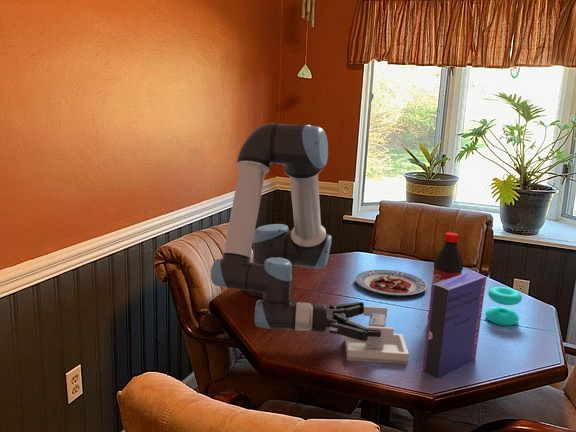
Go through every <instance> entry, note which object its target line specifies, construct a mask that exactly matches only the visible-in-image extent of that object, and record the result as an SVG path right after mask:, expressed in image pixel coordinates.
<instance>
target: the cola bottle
mask: <svg viewBox="0 0 576 432" xmlns="http://www.w3.org/2000/svg"><path fill="white" fill-rule="evenodd" d="M459 239H460V237H459V234H458V233H456V232H445V234H444V238H443V241H444V244H443V247H442V248H441V249H440V251H439V252H438V253H437V255H436V257H435V259H434V260H433V271H432V272H433V273H432V281H431V287H430V289H431V288H432V284H434V283H437V282H440V281H443V280H446V279H449V278H452V277H455V276H458V275H461V274H463V269H464V264H463V260H462V259H463V258H462V257H461V253H460V252H459V249H458V243H459ZM427 314H428V315H429V312H428V313H427ZM428 315H427V316H428Z"/></svg>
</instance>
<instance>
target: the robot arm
mask: <svg viewBox="0 0 576 432" xmlns="http://www.w3.org/2000/svg"><path fill="white" fill-rule="evenodd" d="M328 142H329V141H328V136H327V134H326V132H325V130H324V129H323V128H322V127H320V126H317V125H316V126H315V125H310V124H305V125H301V124H289V123H278V122H269V123H265V124H263V125H261V126H259V127H257V128H255V130H254V131H252V132H251V133H250V134H249V135H248V136H247V138H246V139H245V140H244V142H243V143H242V146H241V147H240V151H239V152H238V155H237V158H236V159H237V161H236V167H237V169H238V175H237V180H236V184H235V189H234V196H233V200H232V206H231V211H230V216H229V223H228V228H227V233H226V238H225V241H224V243H225V244H224V248H223V255H222V258H217V259H215V260H214V261H213V263H212V266H211V268H210V279H211V283H212V284H213V285H214V286H216V287H223V288H226V289H234V290H235V289H236V290H243V291H246V292H247V293H248V294H250V295H251V296H253V297H257V298H260V299H258V300H257V301H256V303H255V307H254V324H255V326H256V327H257V328H261V329H270V330H290V331H291V330H292V331H298V332H303V331H304V332H305V331H306V332H309V331H310V330H311V331H312V332H316V333H317V332H319V333H324V332H325V331H326V329H327V328H329V333H330V334H333V335H335V334H336V335H340V336H343V337H345V336H347V337H350V338H354V339H358V340H361V341H367V338H368V337H377V338H392V339H393V334H394V327H390V326H389V327H388V326H385V327H375V326H369V325H367V327H366V326H363V325H361V324H358V323H356V322H353V321H351V320H349V319H350V318H353V317H358V316H360V315H363V316H364V317H370V314H371V313H375V314H383V315H386V318H387V315H388V307H387V306H373V305H372V306H371V305H365V303H364V302H363V301H355V302H349V303H343V304H329V306H327V303H326V304H325V303H313V304H311V302H298V301H291V300H292V299H291V296H292V295H291V294H292V283H293V282H292V280H293V275H292V271H293V266H294V267H301V268H306V269H313V270H314V269H317V270H319V269H320V270H321V269H325V267H326V266H327V263H328V261H329V256H330V252H331V251H330V250H331V246H332V239H333V238H332V235H330V234H328V233H327V231H326V228H325V227H324V226H323V225H322V221H321V205H320V204H321V203H320V187H319V186H320V185H319V184H320V183H319V174H320V173H321V172H322V170H323V168H325V167H326V166H327V164H328V163H327V162H328V159H329V158H328V157H329V151H328V150H329V143H328ZM272 164H274V165H275V164H276V165H283V166H282V167H283V173H284V174H285V175H287V176H288V177H289V186H290V195H291V203H292V204H291V205H292V214H293V216H292V217H293V223H294V224H293V225H294V227H293V228H292V230H289V226H288V225H287V224H283V223H273V224H271V223H270V224H265V225H260V226H258V227H257V228H256V226H257V221H258V216H259V212H260V211H259V209H260V205H261V199H262V193H263V187H264V181H265V178H266V177H265V176H266V175H267V174H268V173H269V172H270V169H271V168H270V167H271V165H272ZM251 254H252V255H251ZM251 256H252V262H251V261H250V260H251ZM327 307H328V308H327Z"/></svg>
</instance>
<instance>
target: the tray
mask: <svg viewBox="0 0 576 432" xmlns="http://www.w3.org/2000/svg"><path fill="white" fill-rule="evenodd" d="M344 339H345V340H344V344H345V353H346V360H347V361H350V362H351V361H353V362H366V363H367V362H368V363H385V364H395V365H396V364H397V365H398V364H399V365H408V364H409V357H410V356H409V355H410V353H409V351H408V347H407V344H406V342H405V339H404V336H403V333H393V339H392V338H384V349H383V350H367V341H368V338H367V341H361V340H358V339H354V338H350V337H347V336H344Z"/></svg>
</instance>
